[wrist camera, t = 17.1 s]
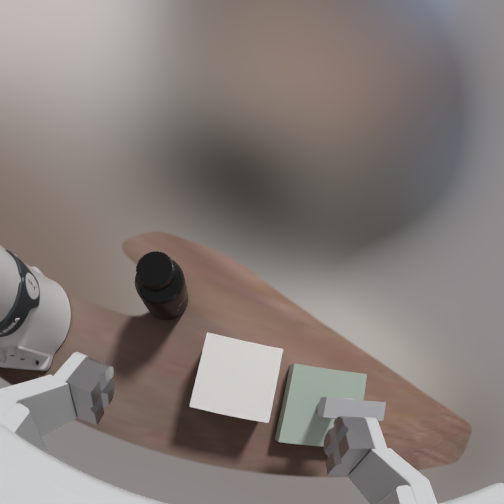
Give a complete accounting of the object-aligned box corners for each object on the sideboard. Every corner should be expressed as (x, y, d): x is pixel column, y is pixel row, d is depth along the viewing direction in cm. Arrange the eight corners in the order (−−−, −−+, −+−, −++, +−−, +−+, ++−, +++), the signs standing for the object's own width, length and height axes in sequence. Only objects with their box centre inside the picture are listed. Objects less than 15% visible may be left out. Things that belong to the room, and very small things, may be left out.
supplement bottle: (193, 314, 45) (187, 288, 34) (151, 325, 43) (132, 302, 32) (183, 275, 48) (175, 238, 37) (142, 284, 46) (124, 251, 35)
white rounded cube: (192, 404, 39) (189, 406, 32) (208, 341, 43) (207, 332, 37) (260, 418, 39) (268, 422, 33) (272, 355, 43) (283, 349, 37)
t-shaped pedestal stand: (274, 439, 37) (297, 455, 26) (289, 365, 43) (317, 353, 32) (347, 445, 38) (389, 456, 26) (359, 375, 43) (402, 365, 32)
